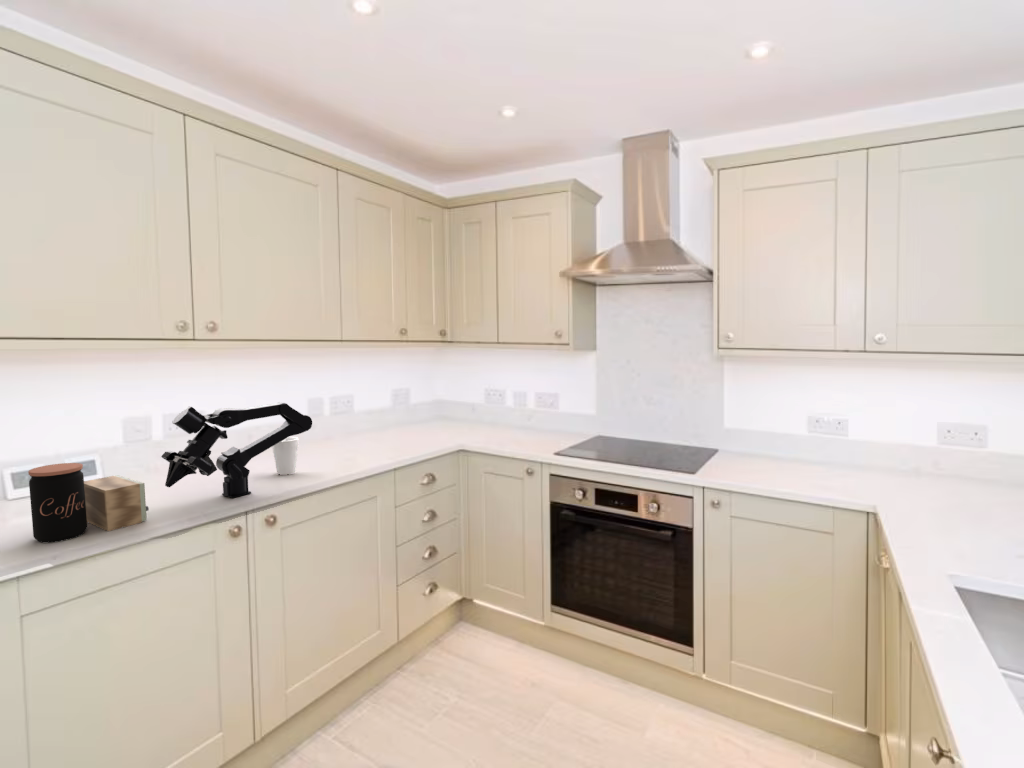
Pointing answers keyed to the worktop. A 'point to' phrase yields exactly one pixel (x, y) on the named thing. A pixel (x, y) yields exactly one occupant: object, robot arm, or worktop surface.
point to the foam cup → (286, 455)
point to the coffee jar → (57, 502)
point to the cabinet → (112, 502)
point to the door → (142, 497)
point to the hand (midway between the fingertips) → (167, 486)
